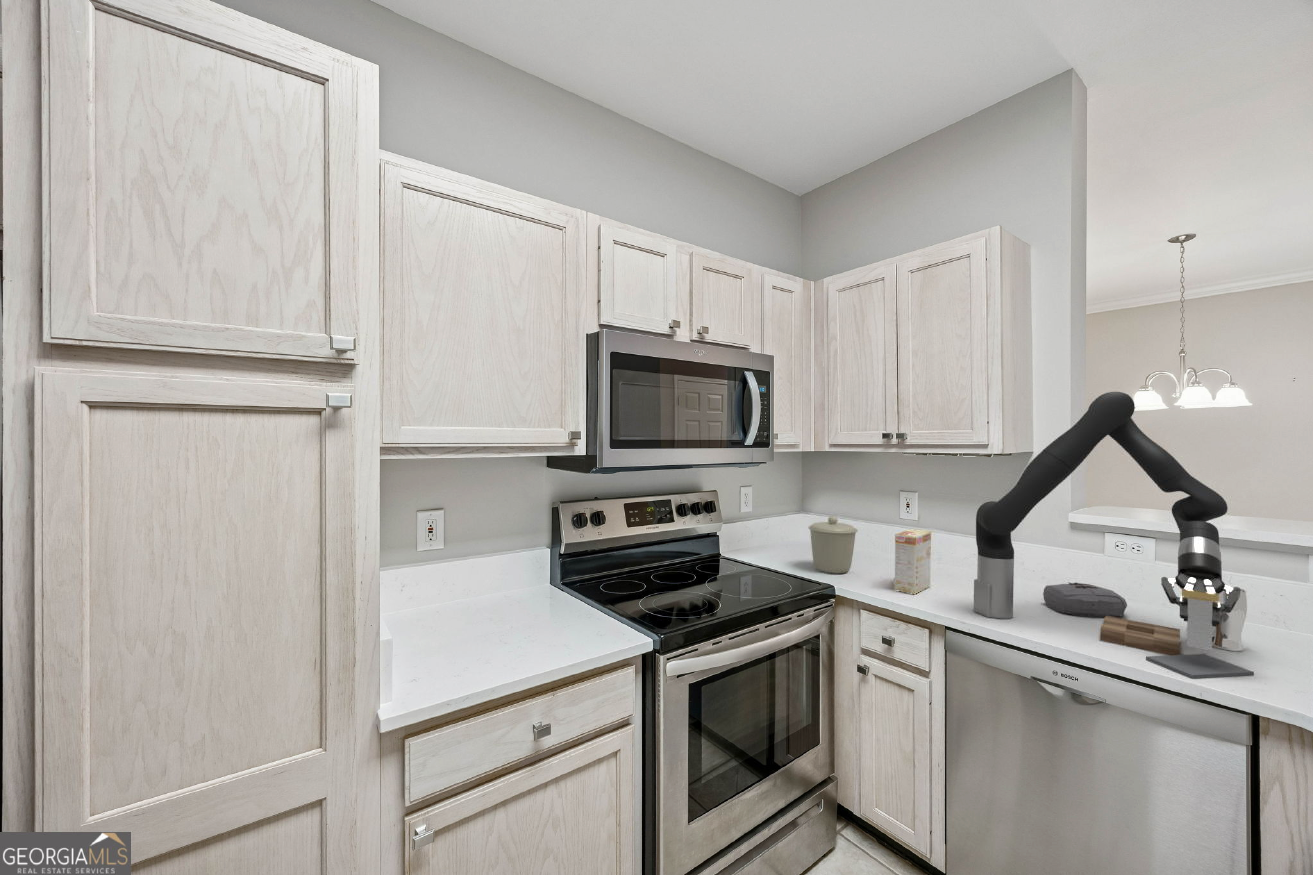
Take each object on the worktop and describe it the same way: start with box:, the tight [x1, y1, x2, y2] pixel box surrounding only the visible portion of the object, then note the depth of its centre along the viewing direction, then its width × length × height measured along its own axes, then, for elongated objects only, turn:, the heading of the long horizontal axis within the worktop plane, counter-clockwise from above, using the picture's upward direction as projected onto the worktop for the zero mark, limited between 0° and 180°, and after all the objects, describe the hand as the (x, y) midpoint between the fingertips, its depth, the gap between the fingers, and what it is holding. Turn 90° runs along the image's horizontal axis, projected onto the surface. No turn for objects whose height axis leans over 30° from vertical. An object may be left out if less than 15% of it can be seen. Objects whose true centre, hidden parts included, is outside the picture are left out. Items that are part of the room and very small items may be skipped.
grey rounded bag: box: [1042, 582, 1128, 618], centre depth 167 cm, size 15×8×20 cm
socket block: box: [1099, 616, 1181, 656], centre depth 143 cm, size 15×15×3 cm
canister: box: [808, 515, 859, 574], centre depth 212 cm, size 18×18×21 cm
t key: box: [1181, 588, 1219, 652], centre depth 126 cm, size 6×4×13 cm, turn 46°
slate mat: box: [1145, 653, 1255, 680], centre depth 126 cm, size 16×10×1 cm, turn 97°
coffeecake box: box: [894, 528, 932, 595], centre depth 188 cm, size 15×7×20 cm, turn 134°
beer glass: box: [1212, 585, 1248, 653], centre depth 139 cm, size 7×7×15 cm
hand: (1199, 621), depth 125 cm, fingers closed on t key, 4 cm apart
